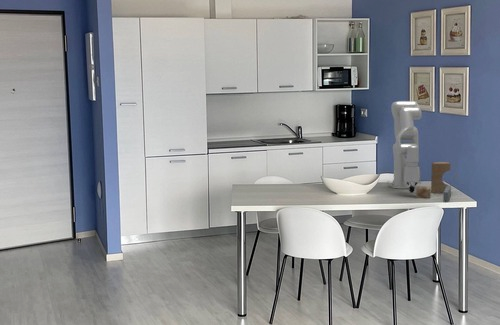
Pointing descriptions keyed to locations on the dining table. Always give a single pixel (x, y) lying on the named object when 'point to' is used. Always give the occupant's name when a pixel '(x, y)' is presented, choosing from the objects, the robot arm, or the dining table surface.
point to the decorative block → (438, 176)
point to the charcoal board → (447, 193)
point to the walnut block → (423, 192)
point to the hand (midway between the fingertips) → (411, 192)
